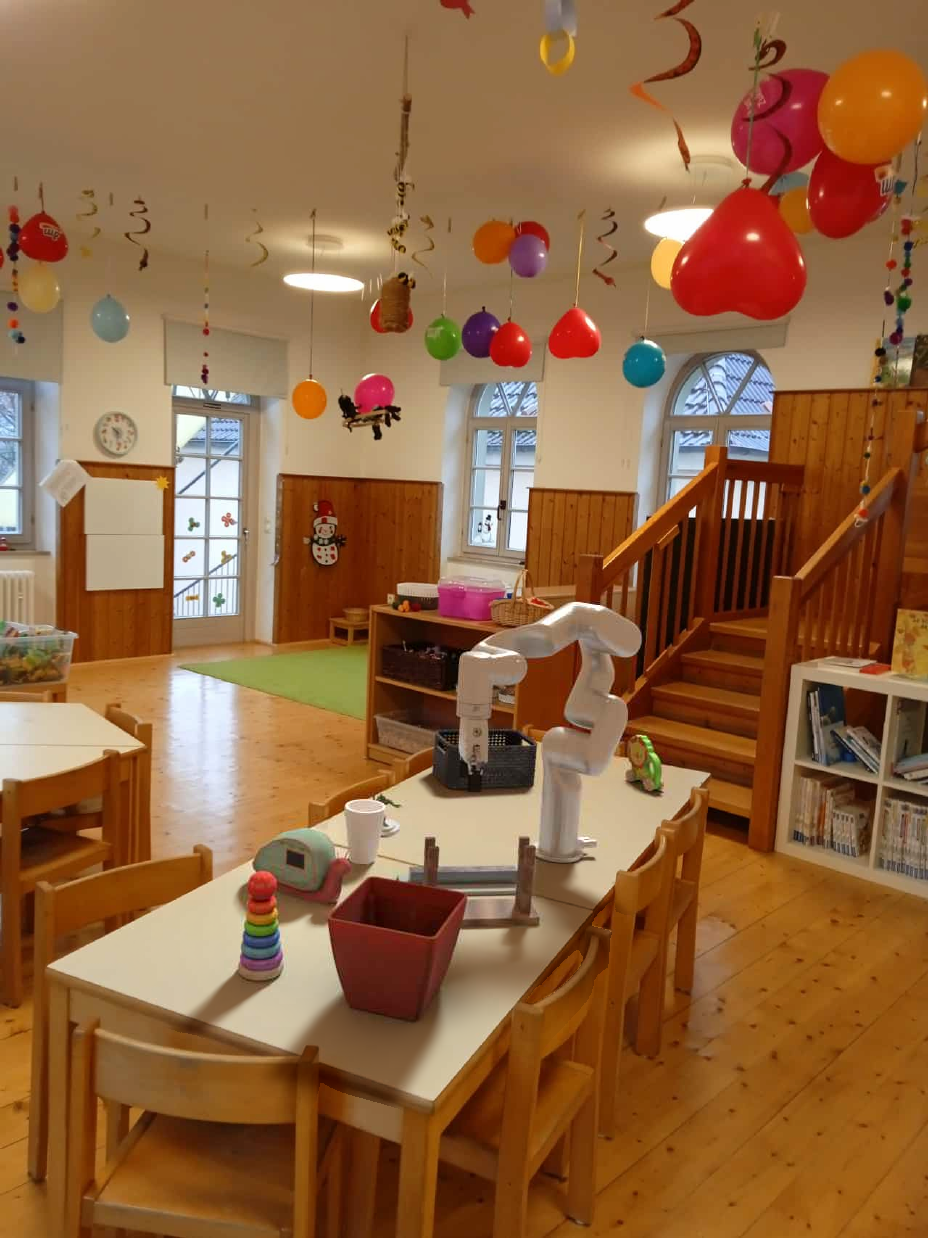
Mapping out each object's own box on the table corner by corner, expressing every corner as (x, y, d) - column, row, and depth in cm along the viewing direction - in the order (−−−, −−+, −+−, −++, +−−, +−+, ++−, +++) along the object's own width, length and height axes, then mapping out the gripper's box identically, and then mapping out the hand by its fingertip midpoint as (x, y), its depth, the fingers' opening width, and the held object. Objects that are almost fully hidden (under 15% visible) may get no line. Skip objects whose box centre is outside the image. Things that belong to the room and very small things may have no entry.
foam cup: (389, 856, 223) (392, 803, 221) (373, 870, 215) (375, 815, 213) (353, 848, 226) (355, 797, 224) (335, 862, 217) (338, 808, 216)
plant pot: (365, 960, 174) (369, 873, 172) (463, 981, 169) (469, 892, 166) (320, 1013, 156) (324, 917, 153) (429, 1038, 150) (435, 939, 148)
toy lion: (664, 792, 286) (669, 743, 284) (649, 793, 284) (654, 744, 282) (634, 776, 300) (638, 730, 298) (620, 777, 298) (624, 731, 296)
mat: (517, 875, 217) (518, 872, 217) (528, 893, 207) (528, 890, 207) (397, 877, 211) (397, 873, 211) (402, 896, 202) (402, 892, 202)
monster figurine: (361, 839, 233) (363, 799, 232) (346, 822, 244) (348, 784, 242) (406, 834, 238) (408, 795, 236) (390, 818, 249) (392, 781, 247)
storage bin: (514, 768, 301) (517, 727, 300) (538, 787, 283) (541, 744, 282) (429, 771, 292) (431, 729, 290) (447, 791, 274) (450, 747, 272)
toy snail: (246, 881, 204) (248, 821, 202) (271, 871, 211) (273, 811, 209) (335, 914, 192) (338, 850, 190) (359, 902, 198) (362, 839, 196)
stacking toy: (241, 960, 171) (244, 862, 169) (285, 960, 172) (289, 863, 169) (234, 982, 163) (237, 880, 161) (281, 983, 164) (284, 881, 161)
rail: (513, 878, 213) (514, 865, 213) (516, 883, 210) (517, 871, 210) (408, 879, 209) (409, 866, 208) (410, 885, 206) (410, 872, 205)
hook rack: (528, 905, 201) (533, 833, 199) (539, 924, 193) (544, 850, 190) (412, 907, 197) (417, 834, 194) (418, 927, 188) (423, 851, 186)
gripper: (499, 719, 196) (494, 797, 199) (482, 699, 213) (478, 772, 215) (464, 718, 195) (459, 798, 197) (450, 699, 211) (446, 772, 214)
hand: (469, 784), depth 206 cm, fingers open, 9 cm apart
